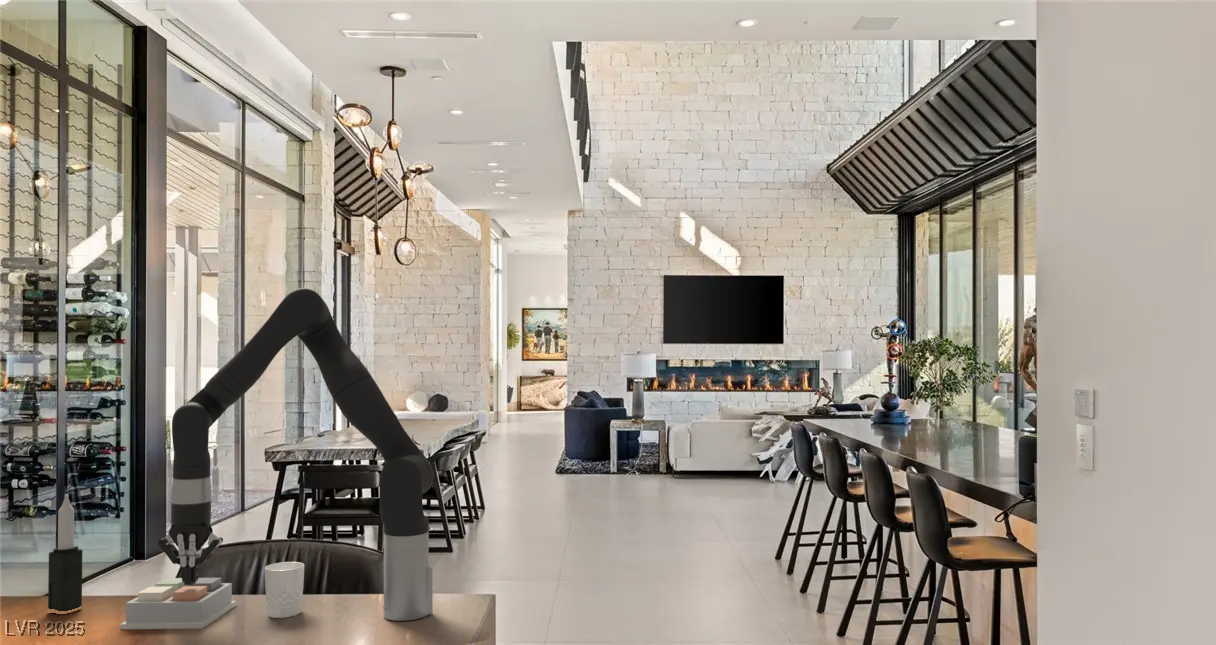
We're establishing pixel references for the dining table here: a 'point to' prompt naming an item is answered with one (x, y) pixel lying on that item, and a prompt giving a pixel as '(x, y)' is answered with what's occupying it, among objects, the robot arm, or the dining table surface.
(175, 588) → the key sage
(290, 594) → the white cup
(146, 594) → the key cream
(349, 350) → the robot arm
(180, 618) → the keypad
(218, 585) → the key slate
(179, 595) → the key terracotta
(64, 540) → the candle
